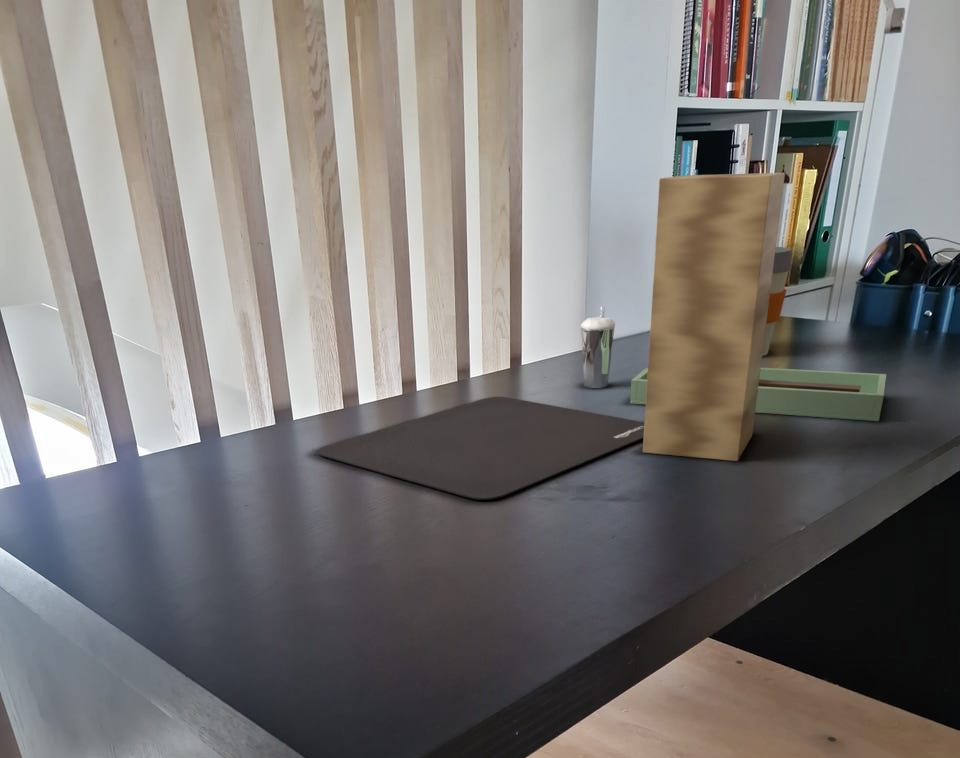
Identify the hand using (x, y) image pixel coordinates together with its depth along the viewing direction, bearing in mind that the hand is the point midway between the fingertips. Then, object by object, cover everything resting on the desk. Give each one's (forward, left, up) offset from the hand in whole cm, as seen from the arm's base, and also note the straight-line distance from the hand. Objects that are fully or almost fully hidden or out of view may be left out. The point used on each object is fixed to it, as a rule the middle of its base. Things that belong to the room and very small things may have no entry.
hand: (947, 28), depth 80 cm
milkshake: (+36, -12, -38) cm, 53 cm away
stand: (+17, +12, -37) cm, 43 cm away
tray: (+14, -9, -37) cm, 41 cm away
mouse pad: (+39, +18, -37) cm, 57 cm away
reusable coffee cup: (+21, -40, -38) cm, 59 cm away
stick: (+14, -9, -37) cm, 40 cm away
